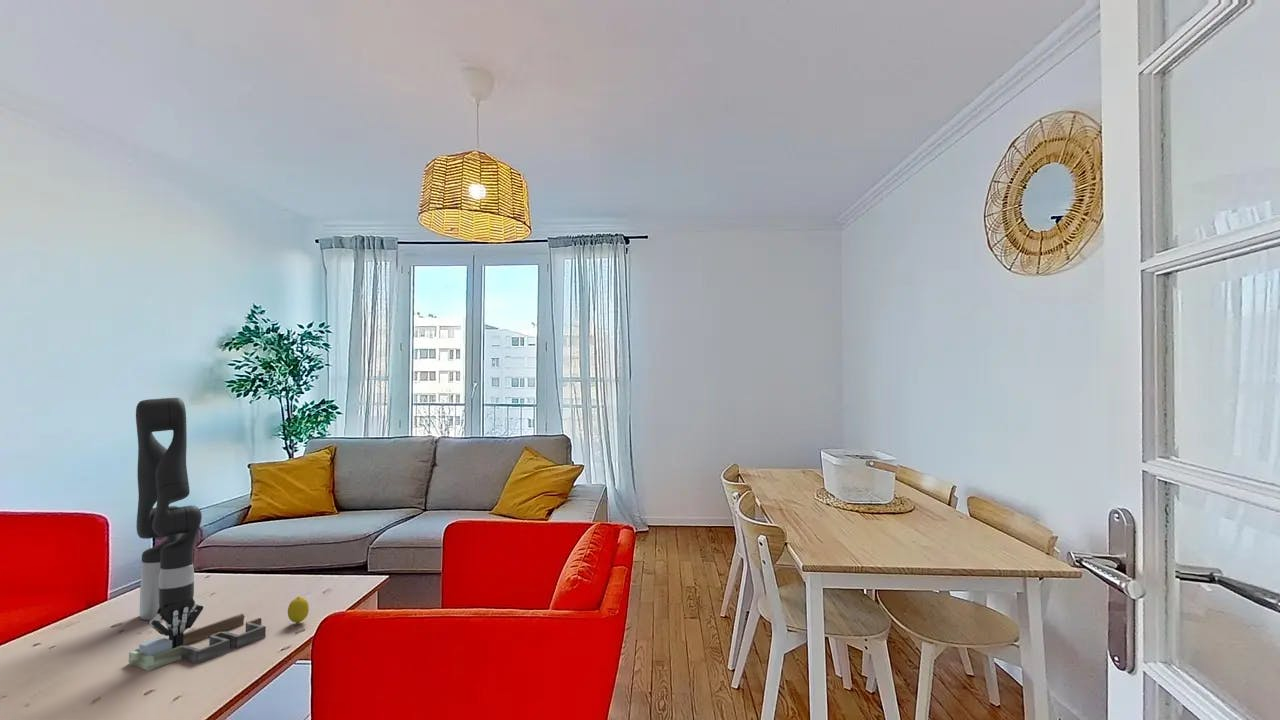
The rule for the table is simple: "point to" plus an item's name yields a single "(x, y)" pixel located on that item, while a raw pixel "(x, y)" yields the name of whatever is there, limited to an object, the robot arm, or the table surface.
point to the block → (155, 646)
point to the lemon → (298, 610)
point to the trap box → (217, 646)
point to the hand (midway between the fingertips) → (175, 647)
